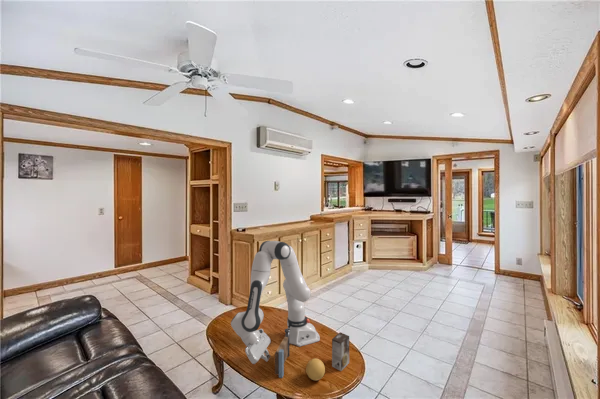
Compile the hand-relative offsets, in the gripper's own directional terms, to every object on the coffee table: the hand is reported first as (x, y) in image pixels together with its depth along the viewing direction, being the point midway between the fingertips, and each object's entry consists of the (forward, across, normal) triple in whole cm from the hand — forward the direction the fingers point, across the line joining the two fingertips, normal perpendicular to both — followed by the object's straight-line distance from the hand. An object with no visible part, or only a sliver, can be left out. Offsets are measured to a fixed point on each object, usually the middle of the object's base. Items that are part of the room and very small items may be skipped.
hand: (268, 359), depth 152 cm
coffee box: (+31, +13, -24) cm, 41 cm away
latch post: (+10, -4, -3) cm, 11 cm away
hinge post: (+8, +13, -1) cm, 16 cm away
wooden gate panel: (+8, +3, -2) cm, 8 cm away
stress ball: (+23, -1, -16) cm, 28 cm away
